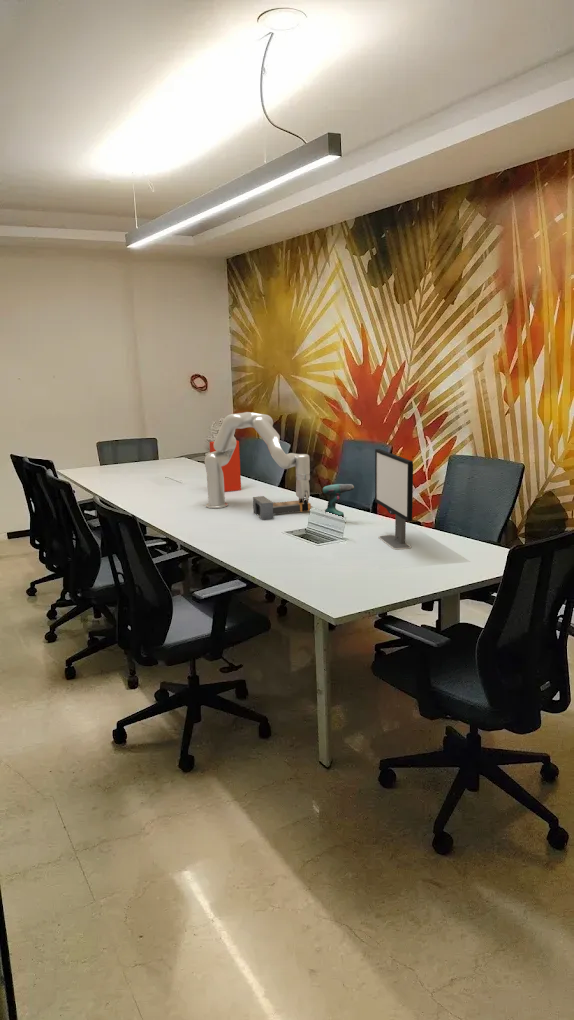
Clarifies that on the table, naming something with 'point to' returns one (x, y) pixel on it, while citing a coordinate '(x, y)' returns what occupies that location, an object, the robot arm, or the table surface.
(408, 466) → the computer monitor
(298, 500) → the pad
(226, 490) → the file binder
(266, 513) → the grey slotted block
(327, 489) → the power drill
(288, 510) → the grey and orange bar
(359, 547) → the table surface
